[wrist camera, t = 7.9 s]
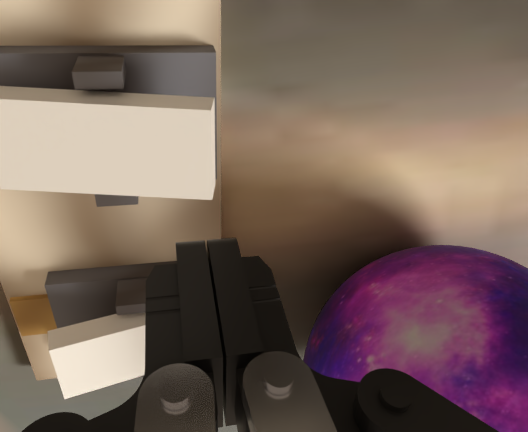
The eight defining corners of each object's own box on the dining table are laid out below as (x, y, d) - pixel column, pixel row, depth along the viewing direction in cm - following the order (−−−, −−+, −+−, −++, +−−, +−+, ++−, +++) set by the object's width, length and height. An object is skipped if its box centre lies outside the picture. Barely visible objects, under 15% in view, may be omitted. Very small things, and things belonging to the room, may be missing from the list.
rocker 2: (213, 289, 24) (220, 305, 23) (214, 335, 26) (221, 352, 25) (47, 331, 22) (48, 350, 21) (62, 379, 24) (64, 399, 23)
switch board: (214, -531, 12) (236, -678, 9) (219, 344, 30) (227, 395, 27) (-320, -652, 10) (-539, -901, 7) (40, 366, 28) (26, 424, 25)
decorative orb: (527, 179, 27) (819, 410, 15) (463, 346, 36) (618, 576, 24) (277, 206, 25) (392, 503, 13) (273, 377, 34) (340, 650, 22)
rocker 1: (214, 97, 17) (210, 110, 16) (215, 183, 19) (212, 199, 18) (-11, 85, 17) (-29, 97, 16) (15, 173, 19) (0, 189, 18)
